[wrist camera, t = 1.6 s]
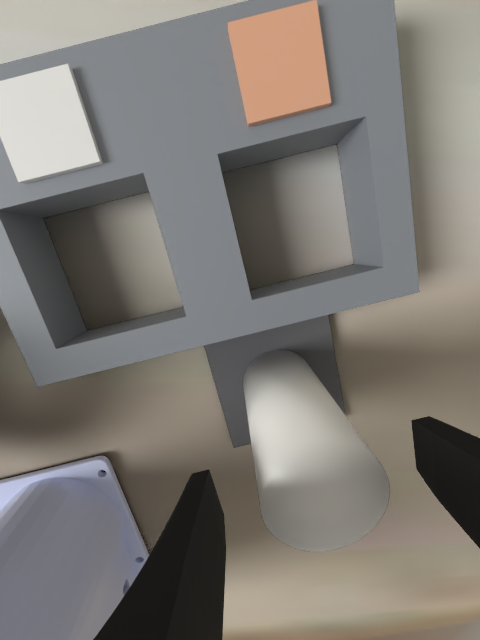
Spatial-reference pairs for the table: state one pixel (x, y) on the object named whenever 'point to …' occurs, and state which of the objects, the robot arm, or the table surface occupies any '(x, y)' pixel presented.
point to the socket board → (201, 168)
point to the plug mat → (239, 352)
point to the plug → (309, 458)
